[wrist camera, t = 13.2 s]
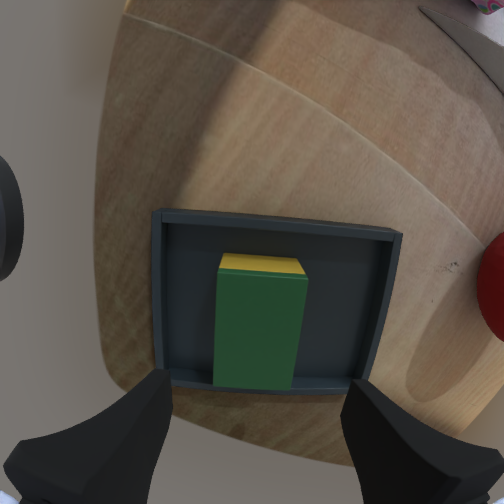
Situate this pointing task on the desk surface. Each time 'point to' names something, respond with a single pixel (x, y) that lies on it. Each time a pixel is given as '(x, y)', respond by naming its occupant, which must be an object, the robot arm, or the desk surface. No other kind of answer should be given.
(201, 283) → the tray
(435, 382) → the desk surface
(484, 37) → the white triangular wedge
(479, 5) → the pencil case
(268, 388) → the sponge
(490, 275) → the apple
